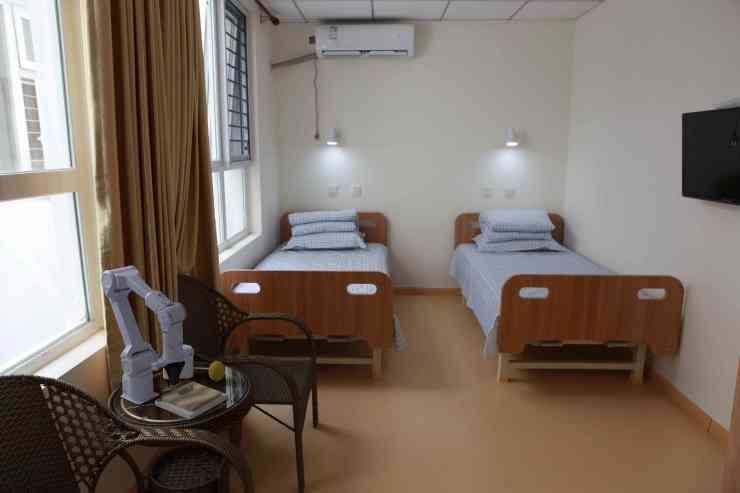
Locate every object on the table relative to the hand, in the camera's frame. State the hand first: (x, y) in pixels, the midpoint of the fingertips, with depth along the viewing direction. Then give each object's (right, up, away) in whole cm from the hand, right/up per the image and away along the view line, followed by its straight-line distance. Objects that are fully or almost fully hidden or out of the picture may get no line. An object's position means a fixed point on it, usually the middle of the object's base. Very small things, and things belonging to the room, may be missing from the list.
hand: (174, 383), depth 158 cm
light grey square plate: (+3, -8, +8) cm, 12 cm away
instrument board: (+3, -6, +7) cm, 10 cm away
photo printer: (-8, -5, +25) cm, 27 cm away
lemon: (+7, -6, +23) cm, 24 cm away
